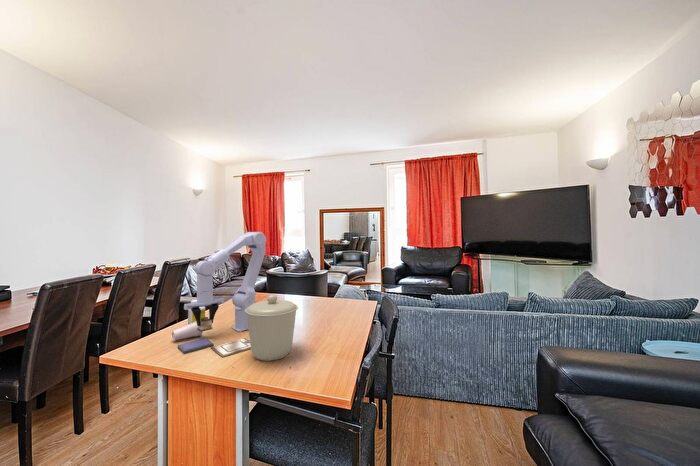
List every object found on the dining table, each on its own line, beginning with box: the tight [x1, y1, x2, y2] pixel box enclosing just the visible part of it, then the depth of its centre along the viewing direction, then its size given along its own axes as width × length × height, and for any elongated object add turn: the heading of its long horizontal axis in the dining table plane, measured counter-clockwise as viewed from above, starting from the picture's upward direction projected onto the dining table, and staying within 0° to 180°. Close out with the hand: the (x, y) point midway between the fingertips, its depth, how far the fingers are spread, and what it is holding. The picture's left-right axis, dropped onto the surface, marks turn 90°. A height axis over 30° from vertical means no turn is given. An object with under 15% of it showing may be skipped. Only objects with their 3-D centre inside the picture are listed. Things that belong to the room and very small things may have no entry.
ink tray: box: [177, 337, 214, 355], centre depth 103 cm, size 10×8×1 cm
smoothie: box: [171, 321, 204, 341], centre depth 113 cm, size 6×6×14 cm
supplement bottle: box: [187, 299, 206, 325], centre depth 122 cm, size 7×7×13 cm
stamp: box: [197, 316, 213, 333], centre depth 111 cm, size 4×4×5 cm
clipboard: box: [210, 337, 251, 359], centre depth 103 cm, size 14×11×1 cm
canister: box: [245, 294, 299, 361], centre depth 97 cm, size 18×18×21 cm
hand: (205, 324), depth 111 cm, fingers closed on stamp, 4 cm apart
